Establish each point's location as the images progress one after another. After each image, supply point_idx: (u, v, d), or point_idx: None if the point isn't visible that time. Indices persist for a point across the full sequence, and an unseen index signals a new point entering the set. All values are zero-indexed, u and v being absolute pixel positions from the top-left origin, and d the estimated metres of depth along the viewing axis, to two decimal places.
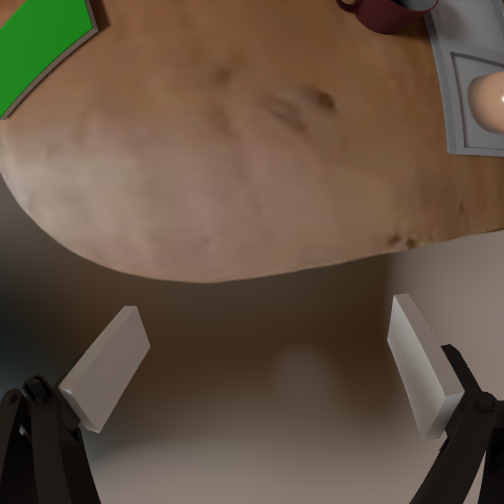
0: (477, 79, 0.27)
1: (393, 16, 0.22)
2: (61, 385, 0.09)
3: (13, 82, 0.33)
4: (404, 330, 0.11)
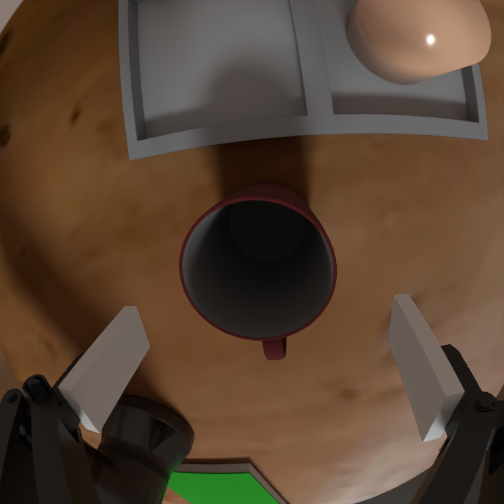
0: (369, 62, 0.18)
1: None
2: (61, 385, 0.09)
3: None
4: (404, 330, 0.11)
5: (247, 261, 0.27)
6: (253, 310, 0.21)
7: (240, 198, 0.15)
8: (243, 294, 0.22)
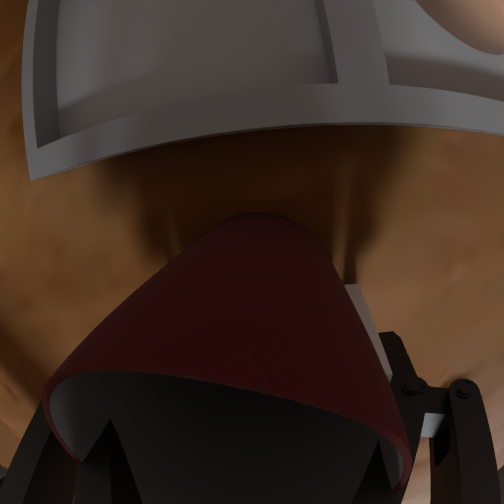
0: (441, 3, 0.07)
1: None
2: None
3: None
4: None
5: None
6: (226, 465, 0.09)
7: (127, 364, 0.04)
8: (211, 426, 0.11)
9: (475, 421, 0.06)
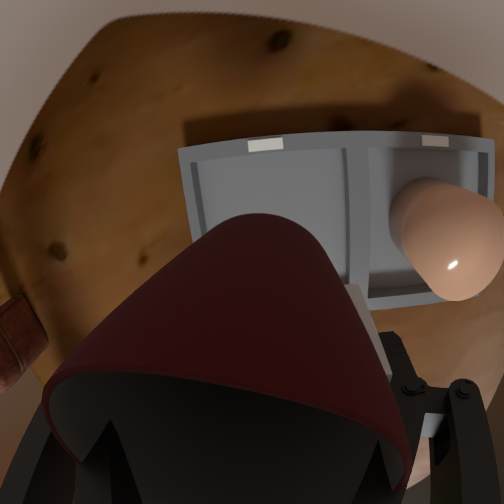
0: (402, 254, 0.27)
1: None
2: None
3: None
4: None
5: None
6: (226, 465, 0.09)
7: (127, 364, 0.04)
8: (211, 426, 0.11)
9: (475, 421, 0.06)
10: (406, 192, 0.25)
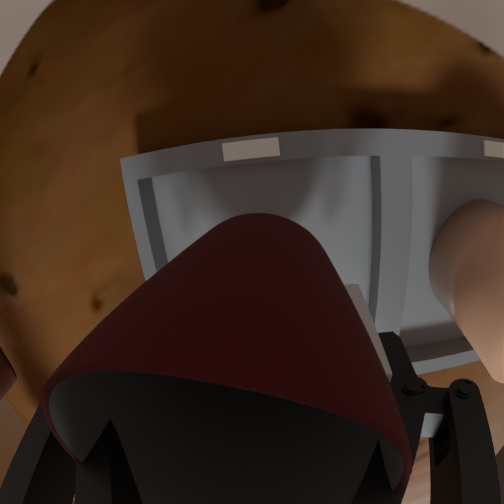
0: None
1: None
2: None
3: None
4: None
5: None
6: (226, 465, 0.09)
7: (126, 364, 0.04)
8: (211, 426, 0.11)
9: (475, 421, 0.06)
10: (459, 223, 0.16)
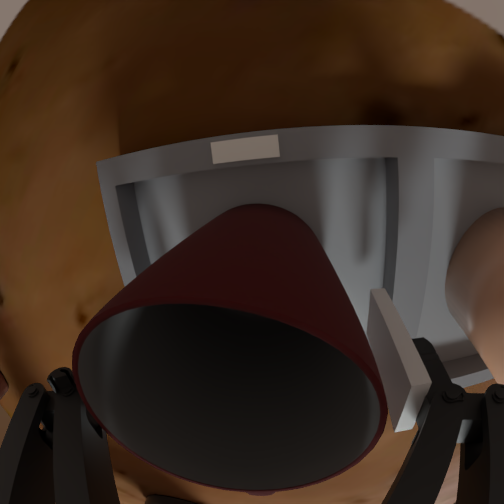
0: (461, 328, 0.15)
1: None
2: None
3: None
4: (379, 323, 0.12)
5: (228, 324, 0.17)
6: (228, 429, 0.11)
7: (159, 298, 0.05)
8: (215, 394, 0.13)
9: None
10: (481, 235, 0.13)
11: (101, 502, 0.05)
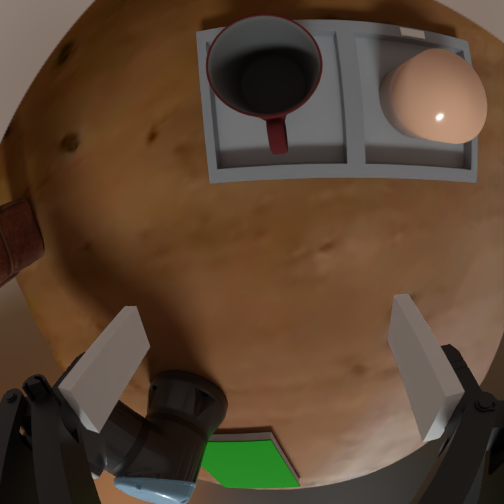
0: (394, 123, 0.27)
1: None
2: (61, 385, 0.09)
3: (278, 477, 0.58)
4: (404, 330, 0.11)
5: (256, 110, 0.29)
6: None
7: (253, 15, 0.17)
8: None
9: None
10: (391, 70, 0.25)
11: (83, 503, 0.05)
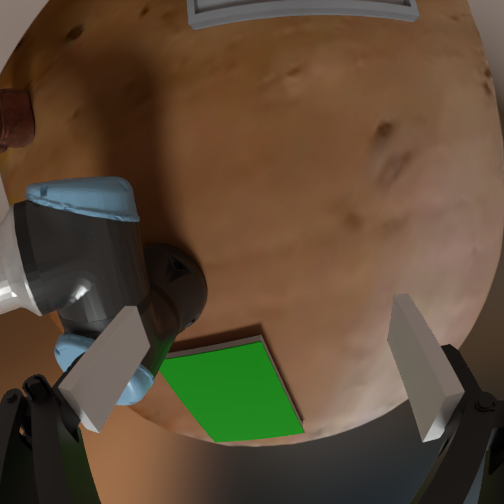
0: None
1: None
2: (61, 385, 0.09)
3: (276, 415, 0.54)
4: (404, 330, 0.11)
5: None
6: None
7: None
8: None
9: None
10: None
11: (83, 503, 0.05)
